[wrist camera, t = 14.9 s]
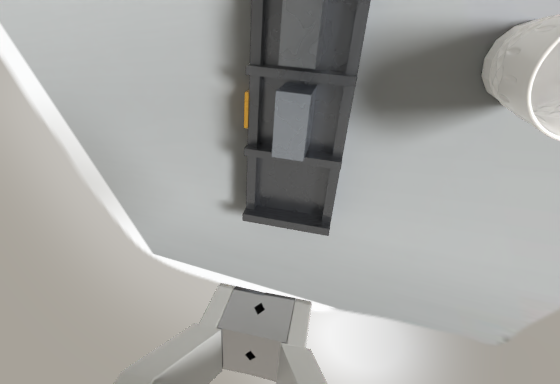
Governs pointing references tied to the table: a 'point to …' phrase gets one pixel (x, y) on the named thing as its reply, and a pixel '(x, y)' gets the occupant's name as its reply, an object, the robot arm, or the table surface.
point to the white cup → (528, 73)
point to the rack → (327, 110)
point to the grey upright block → (293, 120)
